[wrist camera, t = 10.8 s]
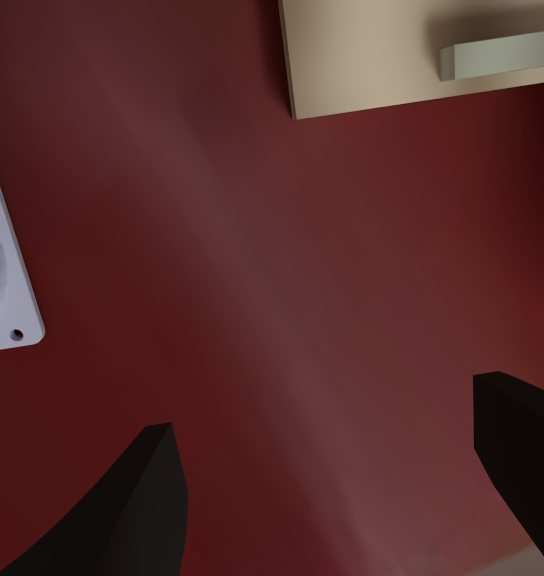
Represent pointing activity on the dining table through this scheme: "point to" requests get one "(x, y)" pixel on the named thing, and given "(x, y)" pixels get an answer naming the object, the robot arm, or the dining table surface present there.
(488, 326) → the dining table surface
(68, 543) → the robot arm
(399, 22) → the display stand
